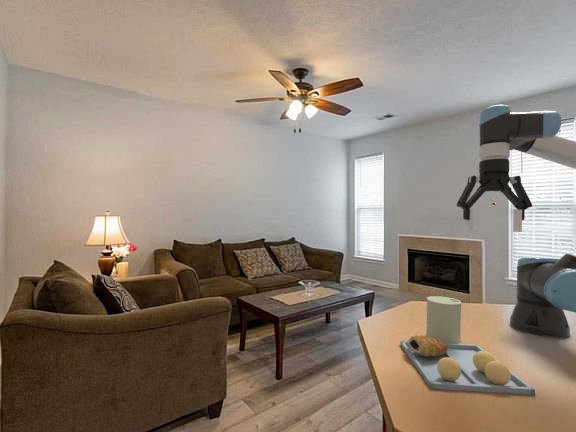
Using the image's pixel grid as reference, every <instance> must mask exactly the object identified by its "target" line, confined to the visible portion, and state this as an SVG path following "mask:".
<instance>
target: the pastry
mask: <svg viewBox="0 0 576 432" xmlns="http://www.w3.org/2000/svg"><path fill="white" fill-rule="evenodd" d="M407 341H408V342H407V345H408V347H409V349H410V350H411V351H413V352H416V353H417V354H419V355H422V356H431V355H432V356H440V355H444V354H445V353H446V352H447V345H446V344H445V343H443V342H442V341H441V340H438V339H434V338H432V337H427V336H426V335H422V334H421V335H414V336H410V338H409V339H408V340H407Z"/></svg>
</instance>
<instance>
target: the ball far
mask: <svg viewBox="0 0 576 432" xmlns="http://www.w3.org/2000/svg"><path fill="white" fill-rule="evenodd" d="M437 370H438V373H439V374H440V376H441V377H442V378H444V379H445V380H448V381H455V380H457V379H458V378H459V377H460V375H461V368H460V365H459V364H458V362H457V361H455V360H454V359H452V358H449V357H445V358H442V359H440V360H439V362H438V364H437Z"/></svg>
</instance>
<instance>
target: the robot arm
mask: <svg viewBox="0 0 576 432" xmlns="http://www.w3.org/2000/svg"><path fill="white" fill-rule="evenodd" d="M478 126H479V151H478V152H479V155H478V157H479V158H478V159H479V160H480V161H479V163H478V166H479V167H478V168H479V169H478V173H479V176H476V175H471V176H469V177H468V178H467V184H466V186H465V187H464V190H463V192H462V193H461V196H460V197H459V198H458V201H457V202H456V207H458V208H460V209H462V211H463V212H462V216H463V218H462V219H463V220H465V231H466V232H474V209H472V207H473V206H474V205H475V204H476V202H477V201H478V200H479V199H480V198H481V197H482V196H483V195H484V193H486V192H500V193H502V194H503V195H504V196H505V198H506V199H508V200H509V202H510V204H512V205H513V206H514V208H515V209H513V213H512V217H513V219H512V232H515V233H522V232H523V221H525V218H526V217H525V214H526V213H525V210H528V208H532V207H533V203H532V201H531V199H530V197H529V196H528V193H527V190H525V188H524V186H523V184H522V178H521V175H515V176H514V175H513V176H510V174H509V173H510V160H509V158H510V155H511V153H510V152H511V151H514V150H515V151H519V152H520V153H521V152H522V153H525V154H528V155H531V156H533V157H536V158H540V159H543V160H546V161H550V162H551V163H554V164H555V163H556V164H559V165H562V166H565V167H568V168H571V169H574V170H576V141H574V140H571V139H568V138H566V137H565V138H564V137H561V136H558V133H559V131H560V129H561V126H562V117H561V114H560V113H559V112H558V111H555V110H539V111H529V112H528V111H526V112H525V111H524V112H512V111H511V108H510V106H509V105H506V104H505V105H504V104H496V105H491V106H488V107H486V108H483V110H481V112H480V115H479V125H478ZM478 182H479V184H480V185H479V186H478V188H477V189H476V191H475V192H473V190H474V187H475V186H476V184H477V183H478ZM509 183H510V184H511V186H512V188H513V190H512V188H511V187H510V185H509ZM472 192H473V194H472ZM471 194H472V195H471ZM470 195H471V197H470ZM565 311H568V312H571V313H576V252H570V253H568V252H567V253H565V254H564V255H562V257H560V258H553V257H552V258H551V257H520V258H519V259H518V260H517V265H516V304H515V305H514V307H513V309H512V312H511V315H510V317H509V325H510V326H511V327H513V328H515V329H516V330H518V331H521V332H524V333H528V334H531V335H536V336H540V337H541V336H542V337H547V338H559V339H561V338H567V337H570V335H571V328H570V325H569V323H568V320H567V316H566V315H565Z"/></svg>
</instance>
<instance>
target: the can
mask: <svg viewBox="0 0 576 432" xmlns="http://www.w3.org/2000/svg"><path fill="white" fill-rule="evenodd" d="M461 318H462V301H461V300H459V299H457V298H452V297H448V296H440V295H439V296H438V295H432V296H431V295H430V296H427V297H426V329H425V330H426V333H425V336H427V337H432V338H434V339H438V340H441V341H442V342H443V343H452V344H461V342H462V337H461V333H462V332H461V329H462V326H461V325H462V323H461V322H462V321H461V320H462V319H461Z"/></svg>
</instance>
